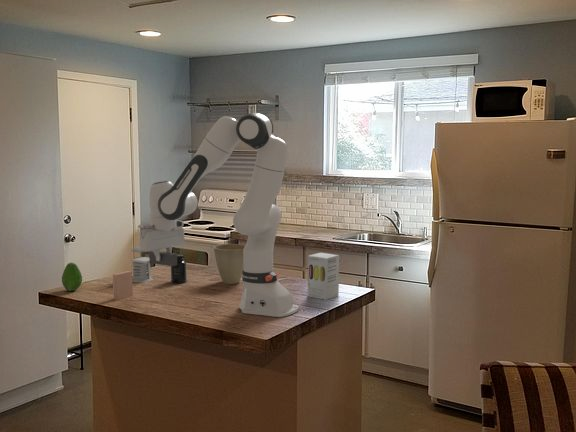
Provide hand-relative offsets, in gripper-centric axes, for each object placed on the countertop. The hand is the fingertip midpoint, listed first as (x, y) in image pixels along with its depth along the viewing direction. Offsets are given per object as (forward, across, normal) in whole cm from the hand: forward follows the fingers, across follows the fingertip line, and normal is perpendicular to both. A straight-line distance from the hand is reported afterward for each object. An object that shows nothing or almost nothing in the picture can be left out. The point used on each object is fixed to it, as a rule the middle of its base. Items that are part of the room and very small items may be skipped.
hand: (163, 259), depth 226 cm
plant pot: (+17, +41, +1) cm, 45 cm away
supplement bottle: (+17, +29, +20) cm, 39 cm away
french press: (+17, +22, +36) cm, 46 cm away
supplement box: (+18, +43, -45) cm, 65 cm away
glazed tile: (+17, -3, +20) cm, 26 cm away
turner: (+2, 0, +4) cm, 4 cm away
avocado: (+17, -8, +46) cm, 49 cm away
